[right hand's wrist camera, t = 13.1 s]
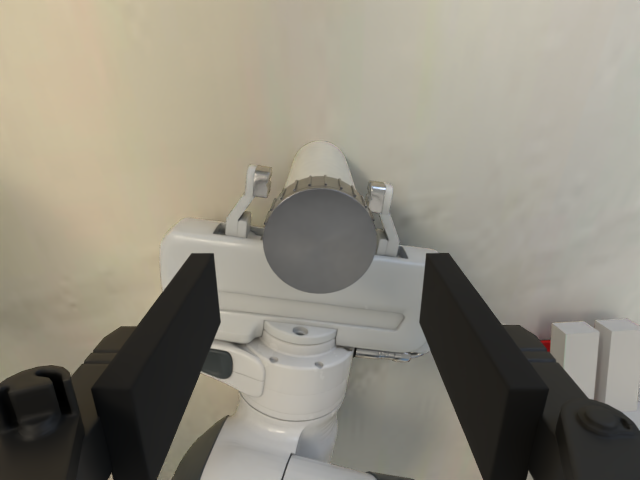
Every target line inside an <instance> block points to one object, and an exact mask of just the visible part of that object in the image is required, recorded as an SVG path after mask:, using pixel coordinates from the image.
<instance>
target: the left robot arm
mask: <svg viewBox="0 0 640 480" xmlns="http://www.w3.org/2000/svg"><path fill="white" fill-rule="evenodd" d="M271 176H272V167H267V166H260V165H254V164H250V165H249V167H248V170H247V175H246V188H245V193H244V194H243V195H242V197H241V198H240V199H239V201H238V202H237V204H236V205H235V206H234V208H233V209H232V211H231V212H230V214H229V215H228V217H227V218H226V222H221V221H214V220H206V219H198V218H191V217H185V218H183V219H181V220H180V221H179V222H177V223H176V224H175V225H174V226H172V227H171V228H170V229H169V230H168V232H167V233H166V234H165V235H164V237H163V238H162V240H161V243H160V252H159V260H160V277H161V286H162V292H163V291H164V289H165V288H166V287H167V285H168V284H169V283H170V281H171V280H172V279H173V277H174V276H175V275H176V273H177V272H178V271H179V269H180V268H181V266H182V265H183V264H184V262H185V261H186V260H187V258H188V257H189V256H190V254H191V253H214V259H215V269H216V279H217V289H218V299H219V309H220V319H221V323H220V326H219V328H218V331H217V333H216V336H215V338H214V341H213V343H212V345H211V348H210V350H209V353H208V355H207V358H206V360H205V363H204V365H203V368H202V370H201V372H200V373H201V374H204V375H206V376H209V377H211V378H214V379H216V380H218V381H221V382H223V383H225V384H227V385H229V386H231V387H233V388H235V389H237V390H238V391H239V403H238V406H237V409H236V412H235V414H234V415H232V416H229V415H228V416H226V417H224V418H222V419H221V420H219V421H218V422H217V423H215V424H214V425H213V426H212V427H211V428H210V429H208V430H207V431H206V432H205V433H204V434H203V435H202V436H200V437H199V438H198V439H197V440H196V441H195V442H194V443H193V445H192V446H191V447H190V448H189V450H188V451H187V452H186V454H185V455H184V457H183V459H182V460H181V462H180V464H179V466H178V468H177V469H176V472H175V474H174V476H173V478H172V480H414V479H411V478H405V477H399V476H393V475H387V474H381V473H375V472H366V473H364V472H360V471H357V470H353V469H349V468H345V467H342V466H338V465H334V464H330V462H331V459H332V455H333V451H334V447H335V443H336V438H337V432H338V421H337V415H336V413H337V412H338V410H339V408H340V407H341V405H342V403H343V400H344V397H345V394H346V388H347V383H348V378H349V374H350V369H351V364H352V358H354V357H360V358H369V359H389V360H392V361H396V362H409V361H410V359H411V358H416V357H419V356H422V355H423V354H426V353H428V352H429V351H430V348H429V345H428V343H427V341H426V338H425V336H424V333H423V331H422V328H421V326H420V323H419V319H420V309H421V299H422V289H423V279H424V269H425V259H426V253H438V252H437V251H436V250H434V249H429V248H421V247H413V246H406V245H399V243H400V240H399V237H398V234H397V232H396V229H395V226H394V223H393V220H392V218H391V215H390V213H389V211H390V206H391V201H392V196H393V186H392V185H391V183H384V182H376V181H369V184H368V188H367V189H368V191H369V193H368V194H367V195H366V199H365V202H366V204H367V207H368V208H369V207H370V210H371V212H375V213H378V214H379V216H380V219H381V222H382V225H383V227H384V231H383V230H382V229H376V231H377V235H376V236H377V246H376V252H375V255H374V259H373V261H372V263H371V265H370V267H369V268H368V270H367V271H366V272H365V274H364V275H363V276H362V277H361V278H360V279H359V280H358V281H356V282H355V283H354V284H352V285H351V286H349V287H347V288H345V289H342V290H340V291H337V292H333V293H326V294H314V293H307V292H303V291H300V290H297V289H295V288H293V287H291V286H289V285H288V284H286V283H285V282H283V281H282V280H281V279H280V278H279V277H278V276H277V275H276V274H275V273H274V272H273V270H272V269H271V267H270V266H269V264H268V262H267V259H266V257H265V253H264V249H263V239H262V237H263V233H264V228H265V227H260V226H252V225H251V215H252V213H251V212H248V211H245V210H246V208H247V207H248V206H249V204H250V203H251V201H252V200H253V199H254V197H264V198H267V197H268V194H269V192H270V187H271V181H270V178H271ZM244 211H245V212H244ZM411 352H414V353H411Z"/></svg>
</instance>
